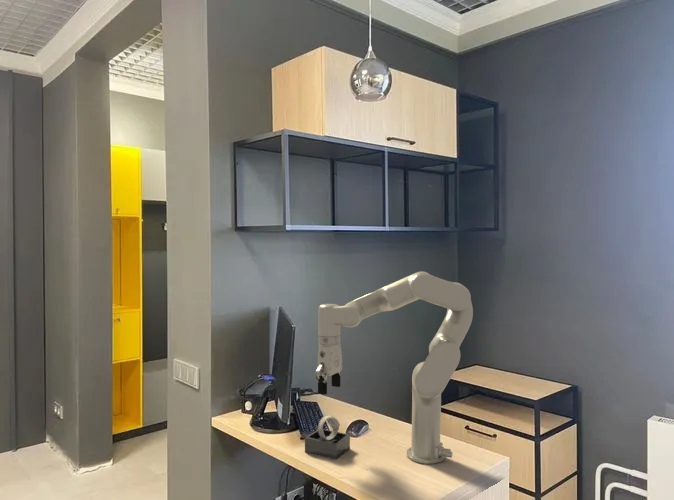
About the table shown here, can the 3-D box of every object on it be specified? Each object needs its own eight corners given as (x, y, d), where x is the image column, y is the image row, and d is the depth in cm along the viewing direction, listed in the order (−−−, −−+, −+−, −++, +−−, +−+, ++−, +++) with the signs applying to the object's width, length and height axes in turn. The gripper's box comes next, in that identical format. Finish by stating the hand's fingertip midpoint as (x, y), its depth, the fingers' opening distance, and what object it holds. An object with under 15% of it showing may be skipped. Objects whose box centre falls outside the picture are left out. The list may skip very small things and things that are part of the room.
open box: (349, 448, 178) (350, 434, 178) (336, 459, 169) (336, 444, 169) (319, 442, 184) (319, 428, 184) (304, 452, 175) (305, 437, 175)
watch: (342, 447, 177) (342, 415, 177) (324, 453, 171) (325, 421, 171) (331, 442, 181) (331, 411, 181) (313, 448, 175) (314, 416, 175)
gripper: (326, 345, 167) (326, 398, 167) (350, 337, 182) (350, 385, 182) (306, 343, 170) (307, 395, 170) (331, 335, 185) (331, 382, 186)
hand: (329, 390), depth 176 cm, fingers open, 9 cm apart
